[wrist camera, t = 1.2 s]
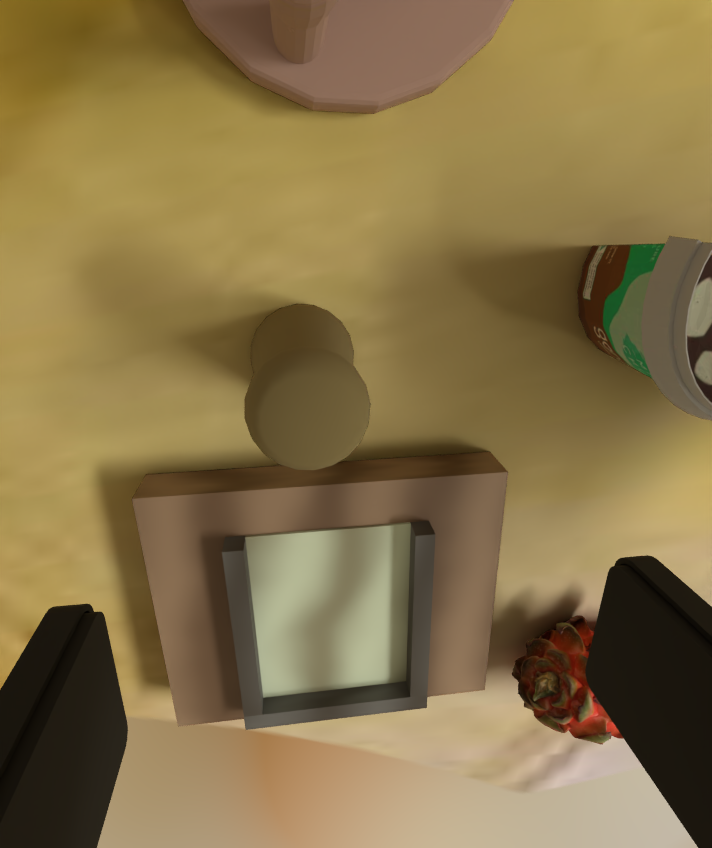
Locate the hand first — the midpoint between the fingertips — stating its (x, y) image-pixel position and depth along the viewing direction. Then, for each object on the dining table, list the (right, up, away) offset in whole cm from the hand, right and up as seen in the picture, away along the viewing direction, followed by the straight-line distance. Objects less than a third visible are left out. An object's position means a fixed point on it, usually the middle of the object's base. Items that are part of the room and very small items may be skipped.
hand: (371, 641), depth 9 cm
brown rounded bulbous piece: (-3, +8, +20) cm, 22 cm away
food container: (+16, +10, +22) cm, 29 cm away
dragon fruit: (+17, -13, +31) cm, 38 cm away
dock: (-2, -7, +26) cm, 27 cm away
